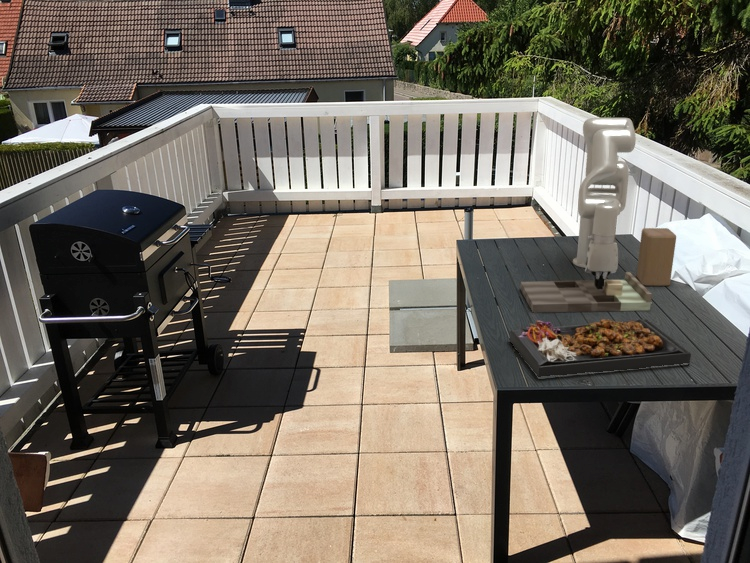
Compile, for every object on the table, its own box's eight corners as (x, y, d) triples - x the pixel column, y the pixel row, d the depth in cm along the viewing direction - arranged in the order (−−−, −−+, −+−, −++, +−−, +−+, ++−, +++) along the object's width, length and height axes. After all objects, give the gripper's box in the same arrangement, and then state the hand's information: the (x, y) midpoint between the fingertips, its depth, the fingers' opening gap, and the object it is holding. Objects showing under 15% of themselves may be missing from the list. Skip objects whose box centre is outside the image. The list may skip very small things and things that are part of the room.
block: (662, 277, 254) (668, 227, 247) (670, 286, 245) (677, 235, 238) (635, 277, 255) (641, 227, 248) (642, 286, 246) (648, 235, 239)
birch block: (603, 290, 235) (604, 279, 234) (618, 290, 235) (619, 279, 233) (606, 295, 231) (608, 284, 229) (621, 295, 230) (622, 284, 229)
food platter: (538, 381, 183) (540, 348, 179) (509, 343, 206) (510, 313, 202) (688, 367, 188) (694, 334, 185) (644, 331, 211) (648, 301, 207)
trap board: (520, 289, 247) (521, 274, 245) (627, 287, 245) (629, 271, 243) (532, 312, 226) (533, 296, 224) (649, 310, 225) (651, 294, 223)
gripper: (584, 242, 224) (580, 292, 231) (629, 241, 224) (623, 291, 230) (579, 236, 231) (574, 284, 238) (621, 235, 231) (616, 284, 237)
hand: (598, 287), depth 234 cm, fingers closed
